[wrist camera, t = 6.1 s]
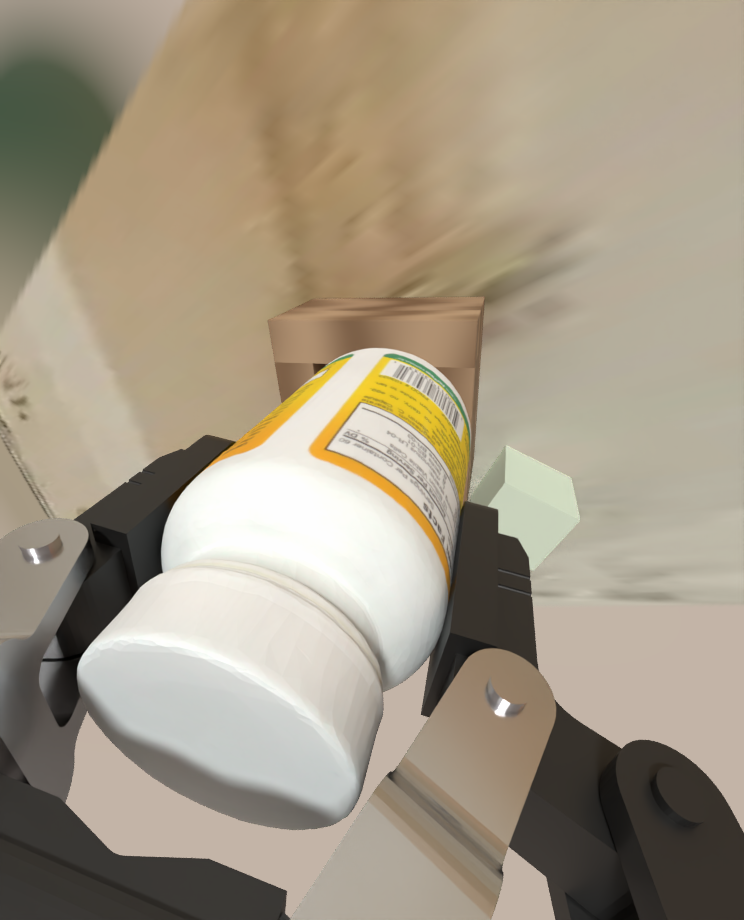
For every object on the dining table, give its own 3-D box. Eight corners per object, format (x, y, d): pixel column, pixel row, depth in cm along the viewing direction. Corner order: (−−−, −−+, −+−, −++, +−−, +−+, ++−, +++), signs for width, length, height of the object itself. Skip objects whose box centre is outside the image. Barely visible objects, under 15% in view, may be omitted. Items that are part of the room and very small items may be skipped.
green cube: (571, 476, 30) (580, 520, 26) (530, 525, 33) (533, 571, 29) (505, 444, 30) (504, 482, 26) (471, 495, 33) (465, 537, 29)
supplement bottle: (476, 343, 12) (422, 647, 4) (468, 507, 14) (426, 899, 6) (290, 343, 13) (-56, 565, 5) (314, 493, 16) (113, 800, 7)
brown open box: (484, 296, 26) (477, 320, 21) (473, 457, 31) (465, 510, 26) (313, 298, 29) (267, 320, 23) (330, 446, 34) (296, 491, 29)
